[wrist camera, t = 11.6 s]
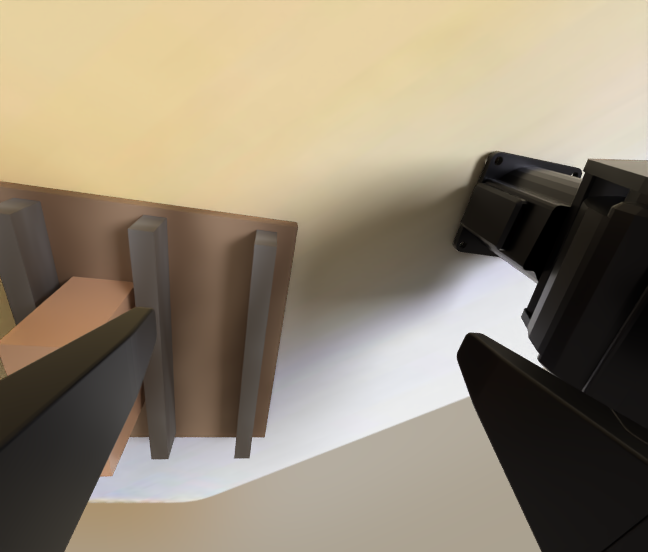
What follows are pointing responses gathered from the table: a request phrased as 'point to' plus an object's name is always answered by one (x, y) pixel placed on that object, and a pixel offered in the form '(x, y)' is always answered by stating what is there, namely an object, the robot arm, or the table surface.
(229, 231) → the ribbed brown panel
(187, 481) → the table surface
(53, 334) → the terracotta strip
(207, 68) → the table surface
